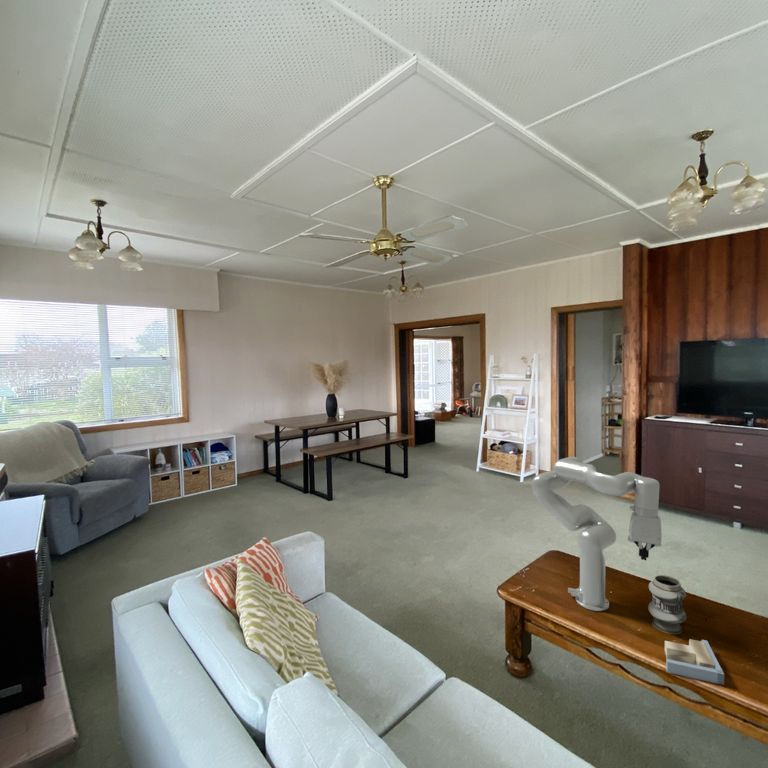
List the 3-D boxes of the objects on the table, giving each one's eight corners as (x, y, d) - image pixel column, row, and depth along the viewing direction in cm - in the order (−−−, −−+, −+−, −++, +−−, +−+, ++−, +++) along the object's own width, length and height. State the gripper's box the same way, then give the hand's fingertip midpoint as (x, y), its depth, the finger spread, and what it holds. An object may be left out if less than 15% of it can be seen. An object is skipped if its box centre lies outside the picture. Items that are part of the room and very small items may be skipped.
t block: (669, 667, 140) (669, 655, 140) (662, 644, 151) (662, 633, 151) (714, 677, 135) (714, 665, 135) (702, 652, 146) (703, 641, 146)
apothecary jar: (645, 613, 169) (646, 569, 168) (682, 620, 164) (683, 575, 163) (650, 631, 158) (651, 584, 157) (689, 639, 153) (690, 591, 152)
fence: (667, 672, 138) (667, 661, 137) (656, 640, 153) (656, 630, 153) (724, 685, 132) (724, 674, 132) (706, 650, 147) (707, 640, 147)
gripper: (623, 511, 158) (621, 558, 159) (671, 518, 151) (668, 567, 153) (622, 504, 164) (620, 550, 166) (668, 511, 158) (665, 558, 159)
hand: (643, 558), depth 159 cm, fingers closed
